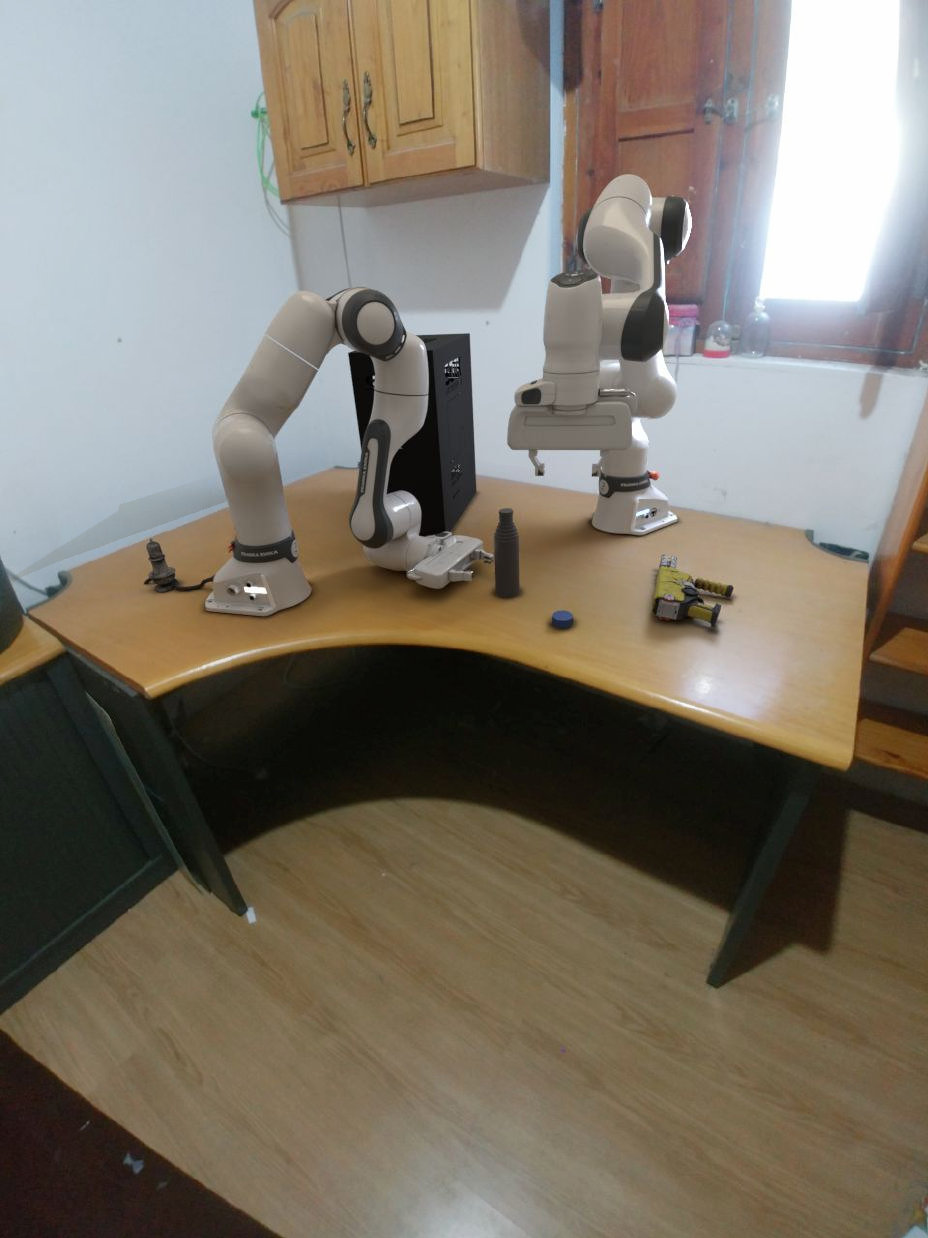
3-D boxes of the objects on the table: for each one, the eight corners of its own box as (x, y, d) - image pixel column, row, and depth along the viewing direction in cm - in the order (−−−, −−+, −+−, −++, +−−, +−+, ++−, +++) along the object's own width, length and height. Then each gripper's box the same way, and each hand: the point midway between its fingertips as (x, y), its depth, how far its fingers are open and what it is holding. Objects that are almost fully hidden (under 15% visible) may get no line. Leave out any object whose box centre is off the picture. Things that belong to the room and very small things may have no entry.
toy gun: (733, 563, 128) (661, 551, 132) (740, 613, 108) (654, 597, 112) (728, 583, 130) (657, 571, 134) (732, 635, 110) (649, 619, 114)
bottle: (524, 591, 129) (524, 509, 120) (508, 600, 126) (507, 516, 117) (506, 584, 132) (504, 504, 123) (490, 592, 129) (487, 511, 120)
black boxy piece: (446, 538, 156) (432, 350, 134) (372, 535, 161) (348, 352, 138) (476, 491, 188) (469, 333, 165) (414, 490, 192) (399, 335, 170)
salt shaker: (170, 592, 137) (153, 544, 131) (147, 591, 138) (130, 543, 132) (185, 581, 142) (170, 533, 136) (163, 580, 143) (147, 532, 137)
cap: (552, 617, 119) (552, 609, 118) (573, 618, 118) (573, 610, 117) (551, 628, 116) (551, 619, 115) (572, 629, 115) (572, 621, 114)
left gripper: (400, 562, 126) (457, 573, 120) (449, 528, 141) (502, 537, 135) (403, 589, 129) (459, 601, 123) (451, 553, 144) (503, 562, 138)
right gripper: (638, 384, 96) (630, 470, 103) (510, 387, 100) (511, 469, 107) (639, 391, 90) (631, 481, 97) (504, 394, 95) (506, 480, 102)
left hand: (482, 567), depth 129 cm, fingers open, 8 cm apart
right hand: (567, 475), depth 102 cm, fingers open, 8 cm apart
